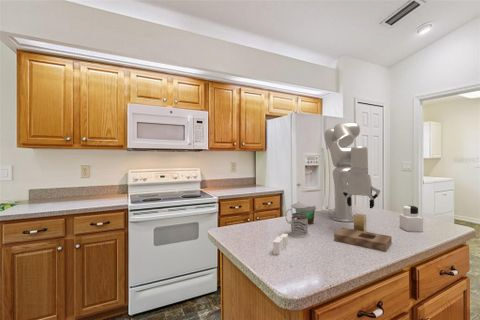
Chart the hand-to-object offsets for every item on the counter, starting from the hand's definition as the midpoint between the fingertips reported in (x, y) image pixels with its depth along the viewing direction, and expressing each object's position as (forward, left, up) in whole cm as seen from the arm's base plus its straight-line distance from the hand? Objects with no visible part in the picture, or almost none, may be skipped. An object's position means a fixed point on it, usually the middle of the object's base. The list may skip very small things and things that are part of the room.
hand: (360, 206), depth 114 cm
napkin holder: (-19, -41, -14) cm, 47 cm away
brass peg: (0, +1, -13) cm, 13 cm away
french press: (-23, -19, -13) cm, 33 cm away
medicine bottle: (+18, +23, -13) cm, 32 cm away
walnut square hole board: (+4, -11, -13) cm, 18 cm away
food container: (-29, +1, -13) cm, 32 cm away
